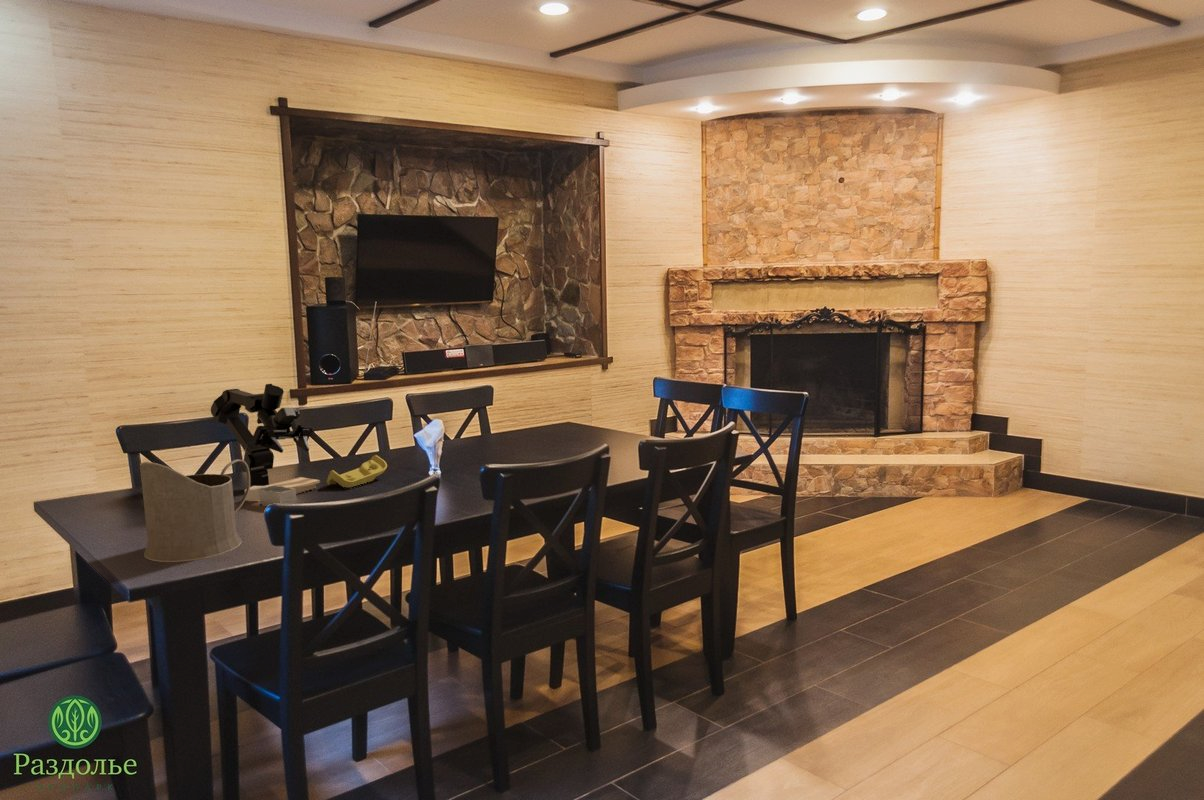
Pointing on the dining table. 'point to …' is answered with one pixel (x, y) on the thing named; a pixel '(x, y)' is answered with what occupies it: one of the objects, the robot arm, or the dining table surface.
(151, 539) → the pitcher
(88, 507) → the dining table surface
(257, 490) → the parts box
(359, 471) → the plastic component
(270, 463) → the robot arm
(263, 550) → the dining table surface
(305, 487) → the stand
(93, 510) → the dining table surface
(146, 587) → the dining table surface
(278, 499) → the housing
